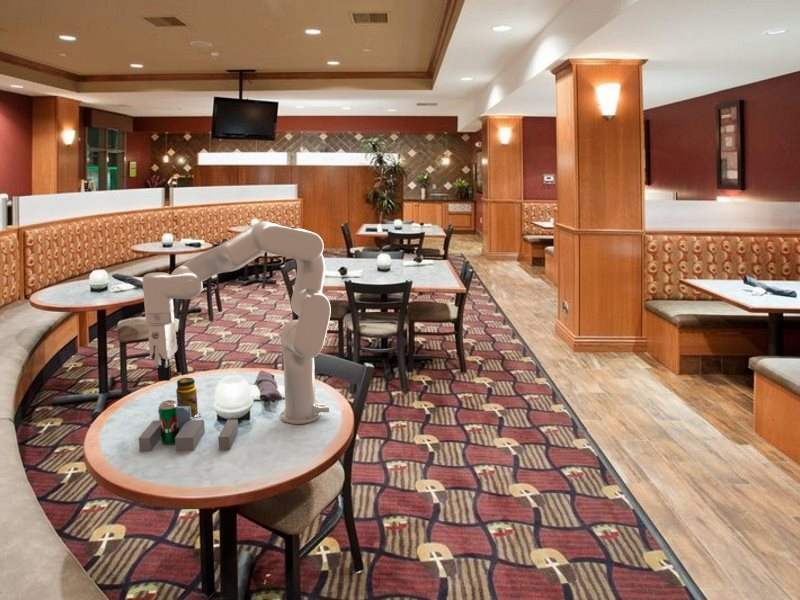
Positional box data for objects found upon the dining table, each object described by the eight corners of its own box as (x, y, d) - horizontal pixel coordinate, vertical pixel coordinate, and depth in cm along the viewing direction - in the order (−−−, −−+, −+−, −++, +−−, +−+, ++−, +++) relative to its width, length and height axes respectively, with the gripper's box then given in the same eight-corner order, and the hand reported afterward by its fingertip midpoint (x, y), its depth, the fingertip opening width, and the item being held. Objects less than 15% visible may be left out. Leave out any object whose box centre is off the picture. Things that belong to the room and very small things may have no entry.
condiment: (201, 416, 198) (199, 381, 196) (174, 422, 194) (171, 386, 191) (195, 409, 204) (192, 374, 202) (168, 414, 200) (165, 379, 197)
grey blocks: (239, 430, 188) (237, 405, 186) (229, 450, 176) (228, 423, 174) (155, 431, 187) (153, 406, 185) (139, 451, 174) (137, 424, 173)
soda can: (181, 437, 183) (178, 399, 181) (178, 444, 179) (175, 405, 176) (163, 438, 183) (160, 400, 180) (159, 445, 178) (156, 406, 175)
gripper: (165, 324, 165) (170, 389, 169) (181, 310, 180) (186, 370, 184) (136, 324, 165) (142, 389, 169) (155, 310, 179) (160, 371, 183)
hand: (165, 379), depth 176 cm, fingers closed
